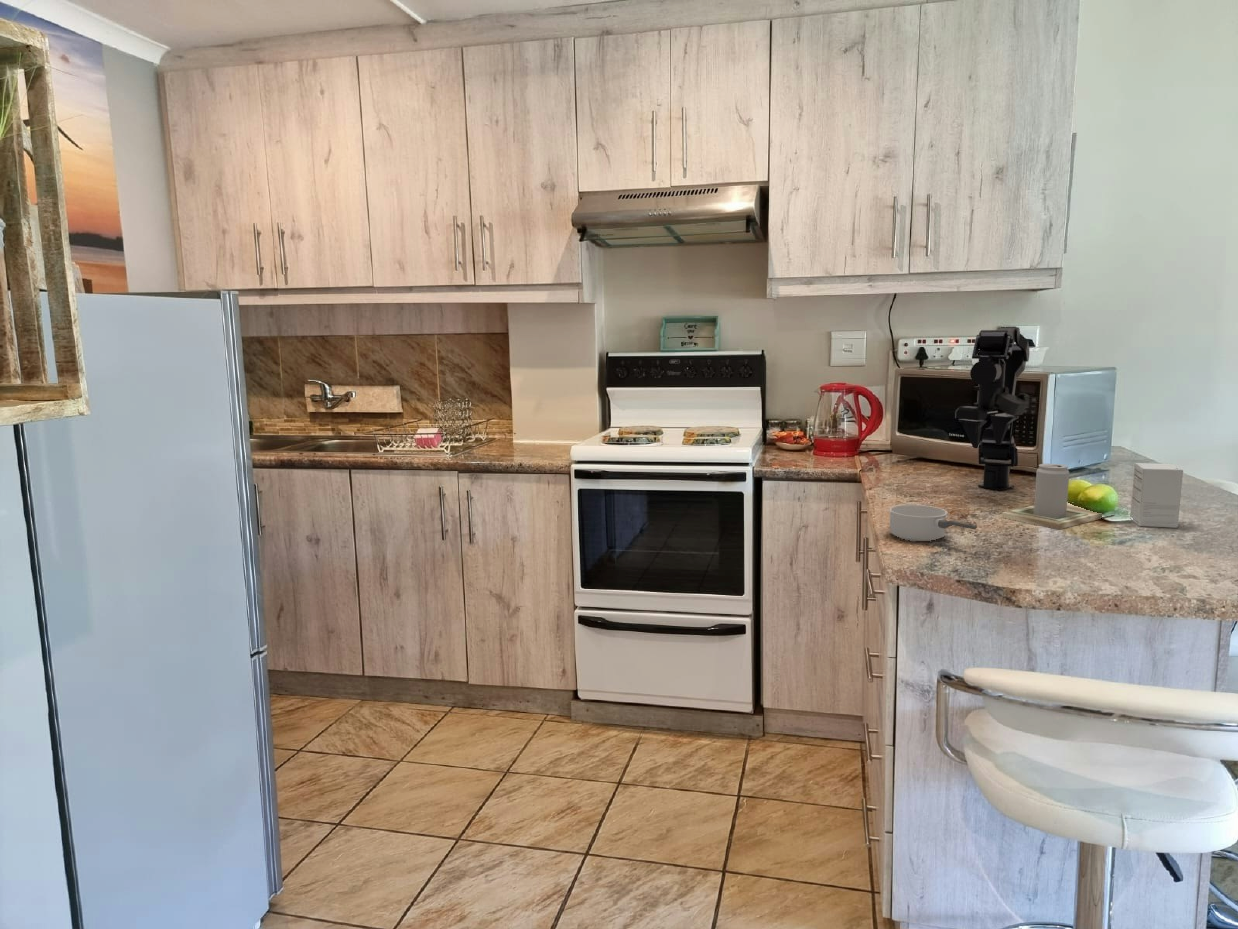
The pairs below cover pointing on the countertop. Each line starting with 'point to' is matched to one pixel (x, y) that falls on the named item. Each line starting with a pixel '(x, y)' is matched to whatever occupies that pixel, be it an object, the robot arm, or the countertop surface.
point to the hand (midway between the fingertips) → (987, 446)
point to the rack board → (1072, 518)
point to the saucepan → (921, 522)
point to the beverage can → (1051, 491)
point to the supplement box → (1156, 495)
